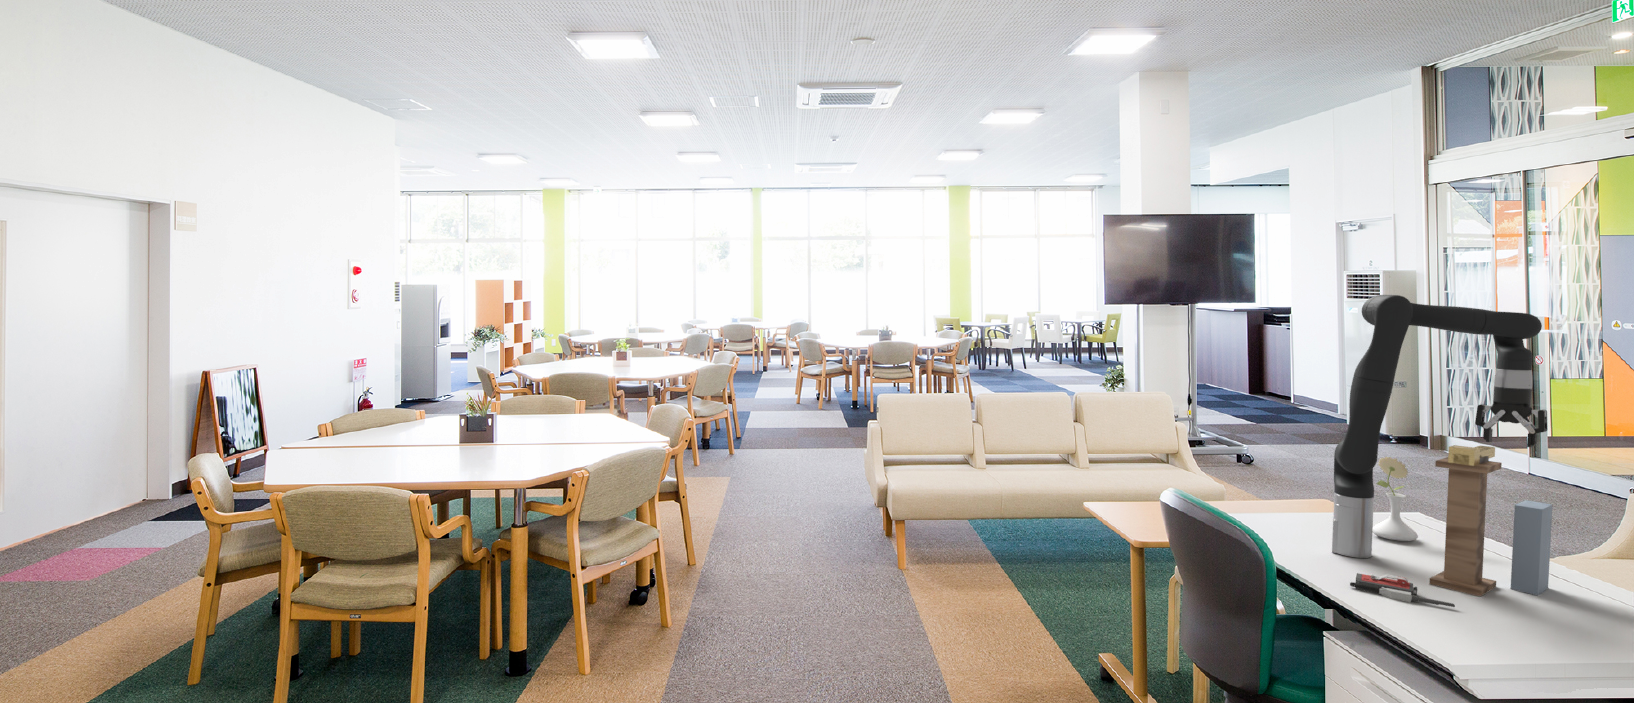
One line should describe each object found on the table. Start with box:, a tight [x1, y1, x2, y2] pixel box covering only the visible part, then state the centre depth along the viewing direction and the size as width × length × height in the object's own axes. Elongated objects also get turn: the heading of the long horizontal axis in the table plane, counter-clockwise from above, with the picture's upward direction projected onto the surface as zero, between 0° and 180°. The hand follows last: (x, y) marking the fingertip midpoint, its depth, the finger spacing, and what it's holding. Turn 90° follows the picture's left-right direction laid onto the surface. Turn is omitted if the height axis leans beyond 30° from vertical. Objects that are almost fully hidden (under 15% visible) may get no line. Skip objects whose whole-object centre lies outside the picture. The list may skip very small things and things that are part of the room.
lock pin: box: [1447, 444, 1496, 466], centre depth 186 cm, size 20×5×4 cm, turn 123°
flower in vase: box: [1372, 456, 1419, 542], centre depth 225 cm, size 13×11×25 cm
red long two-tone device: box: [1349, 572, 1456, 608], centre depth 179 cm, size 9×4×20 cm
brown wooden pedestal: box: [1429, 456, 1502, 597], centre depth 185 cm, size 12×10×33 cm
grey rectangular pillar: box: [1510, 499, 1553, 596], centre depth 183 cm, size 9×5×22 cm, turn 123°
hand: (1509, 444), depth 199 cm, fingers open, 8 cm apart
